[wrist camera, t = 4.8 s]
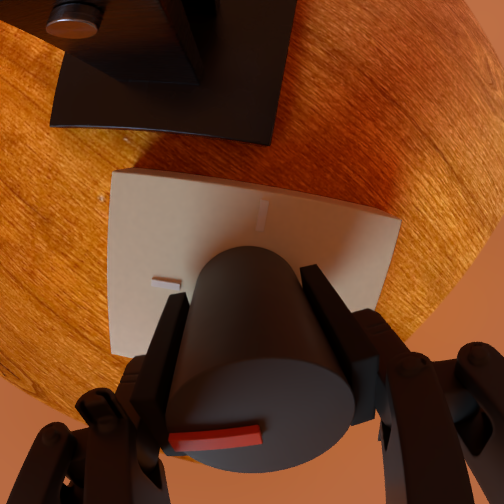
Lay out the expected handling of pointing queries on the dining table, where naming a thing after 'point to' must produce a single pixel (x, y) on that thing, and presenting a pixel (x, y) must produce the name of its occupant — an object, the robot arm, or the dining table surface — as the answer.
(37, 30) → the lever bracket
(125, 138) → the dining table surface
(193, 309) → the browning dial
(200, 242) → the dial panel
